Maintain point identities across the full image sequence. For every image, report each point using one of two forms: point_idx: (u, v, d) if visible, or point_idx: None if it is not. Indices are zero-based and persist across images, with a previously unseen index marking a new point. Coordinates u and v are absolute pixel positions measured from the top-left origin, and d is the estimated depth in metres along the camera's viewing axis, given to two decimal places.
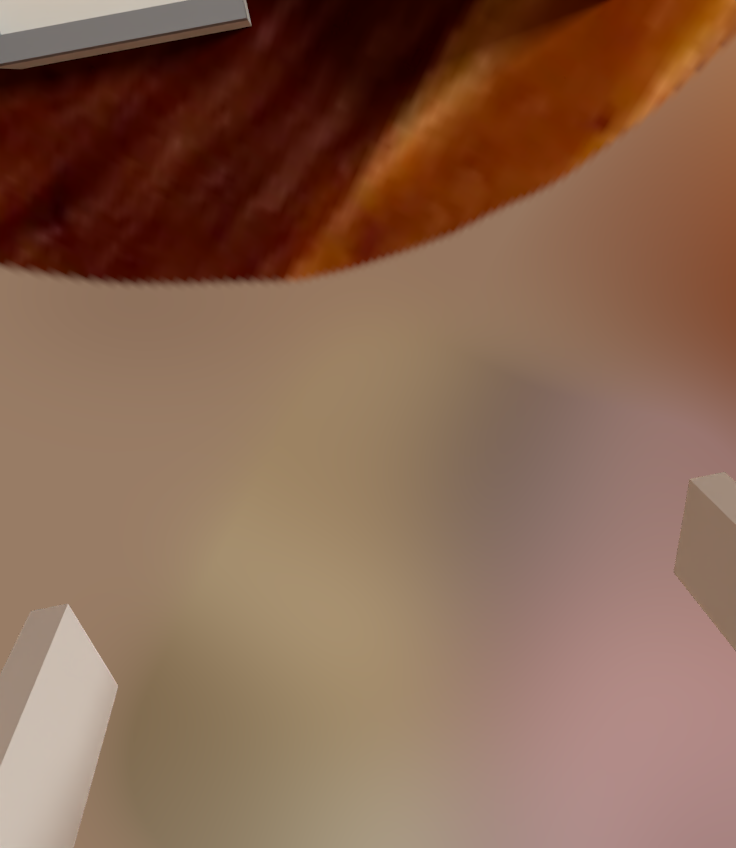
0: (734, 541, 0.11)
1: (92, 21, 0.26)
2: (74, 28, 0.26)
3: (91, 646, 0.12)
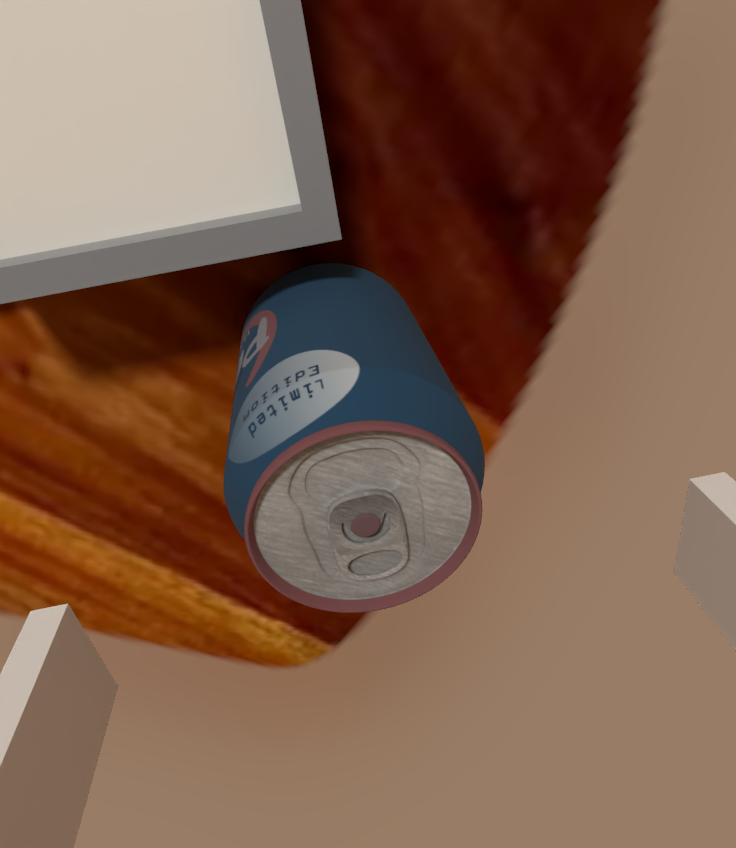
0: (734, 541, 0.11)
1: (270, 30, 0.15)
2: (283, 69, 0.15)
3: (91, 646, 0.12)
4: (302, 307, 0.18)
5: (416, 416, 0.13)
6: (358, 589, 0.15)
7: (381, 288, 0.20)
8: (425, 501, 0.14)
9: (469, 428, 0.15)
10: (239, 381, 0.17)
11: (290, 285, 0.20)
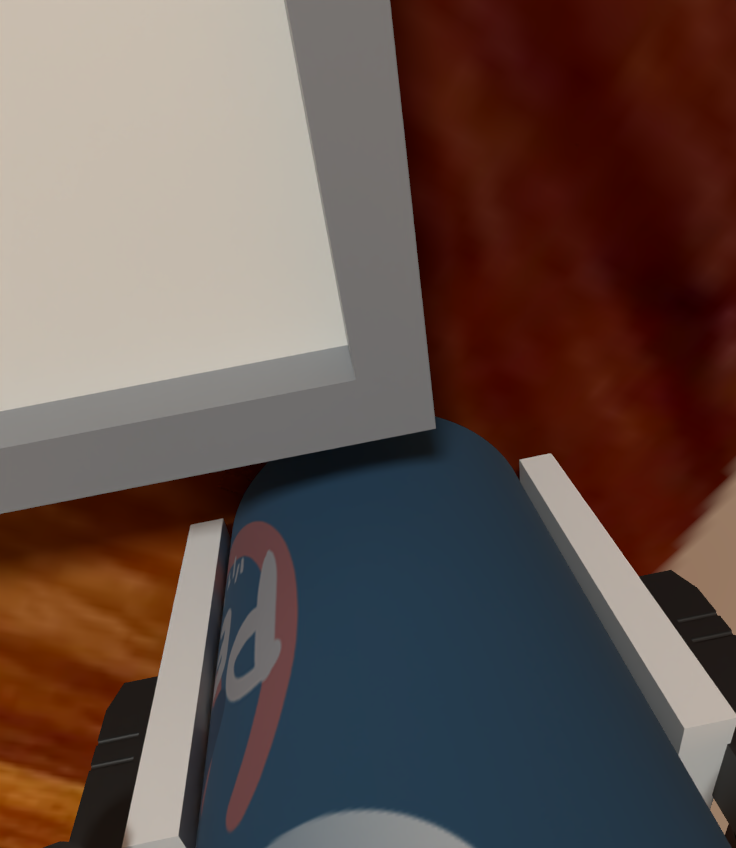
0: (543, 513, 0.12)
1: None
2: (322, 69, 0.06)
3: None
4: (351, 567, 0.08)
5: None
6: None
7: (488, 475, 0.11)
8: None
9: None
10: (217, 739, 0.08)
11: (321, 473, 0.11)
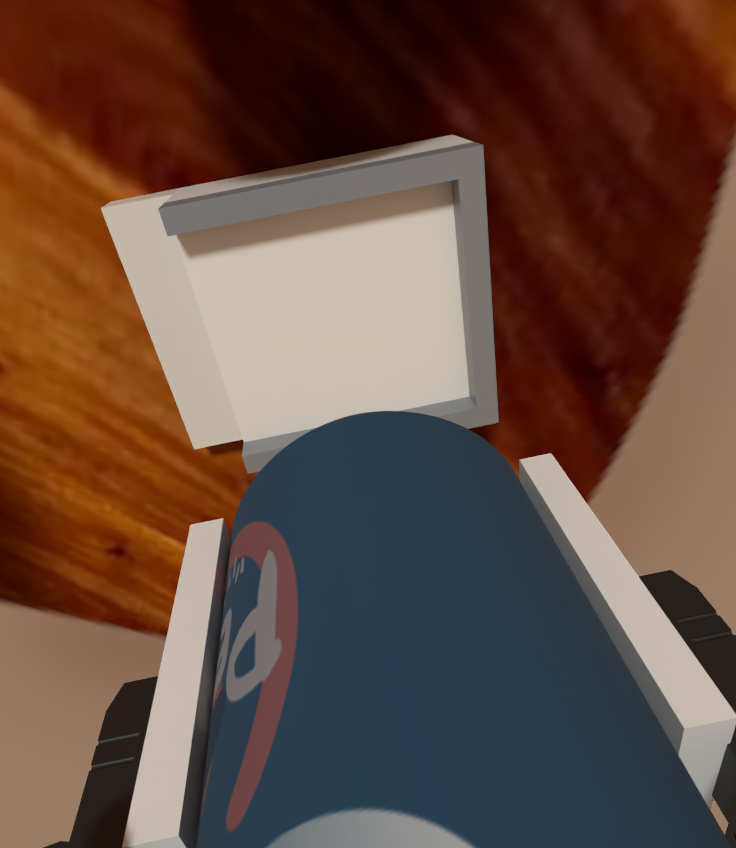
0: (543, 513, 0.12)
1: (472, 319, 0.25)
2: (476, 337, 0.25)
3: None
4: (351, 567, 0.08)
5: None
6: None
7: (488, 475, 0.11)
8: None
9: None
10: (217, 739, 0.08)
11: (321, 474, 0.11)
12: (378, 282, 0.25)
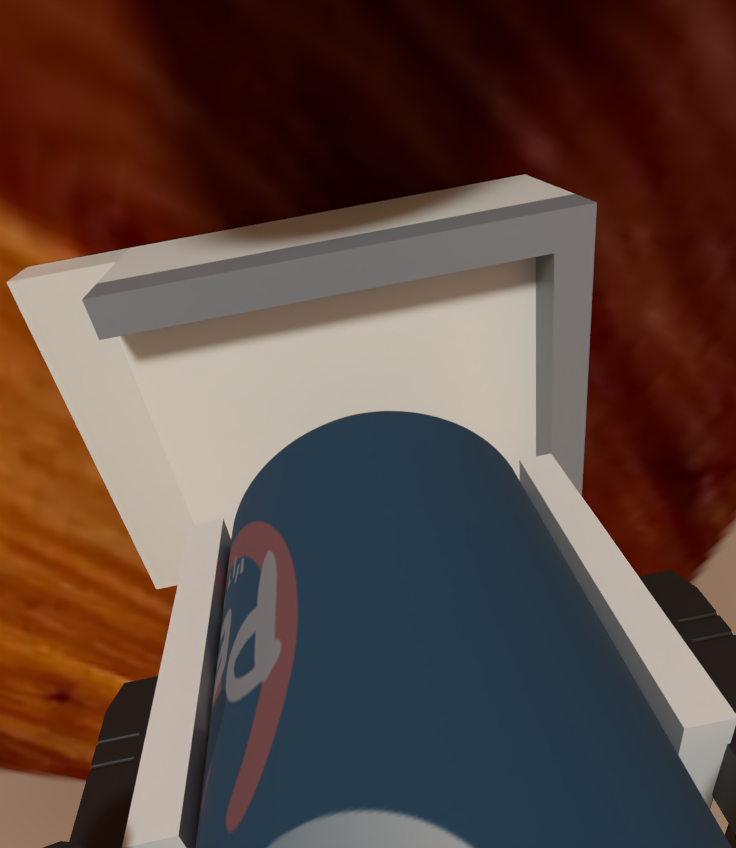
0: (543, 513, 0.12)
1: (555, 444, 0.17)
2: None
3: None
4: (351, 567, 0.08)
5: None
6: None
7: (488, 475, 0.11)
8: None
9: None
10: (217, 740, 0.08)
11: (321, 474, 0.11)
12: (420, 389, 0.17)
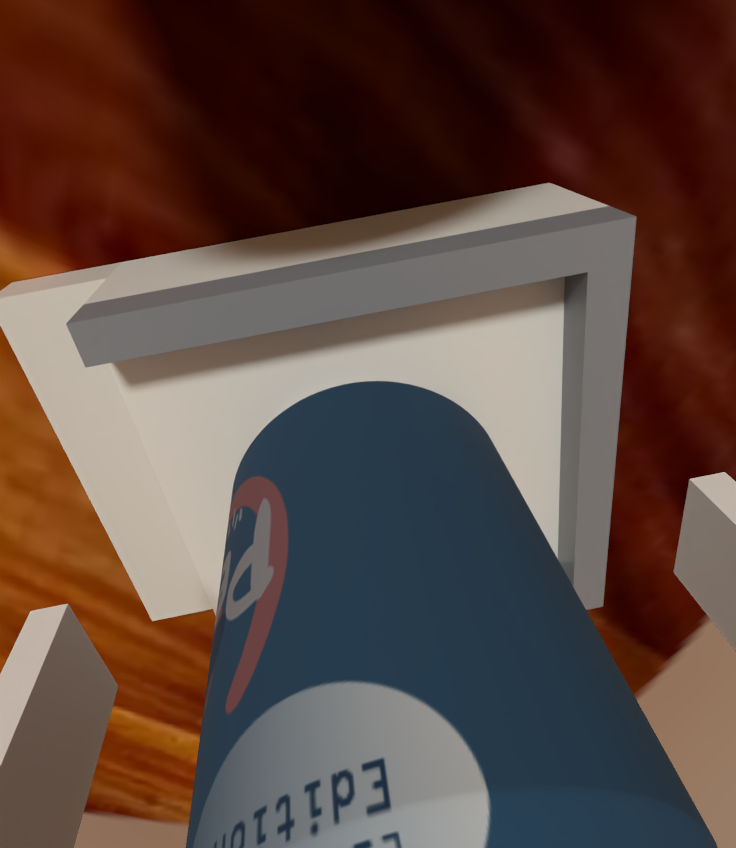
0: (734, 541, 0.11)
1: (582, 475, 0.16)
2: (586, 499, 0.16)
3: (91, 646, 0.12)
4: (335, 505, 0.10)
5: None
6: None
7: (462, 435, 0.12)
8: None
9: None
10: (218, 652, 0.09)
11: (311, 433, 0.12)
12: None
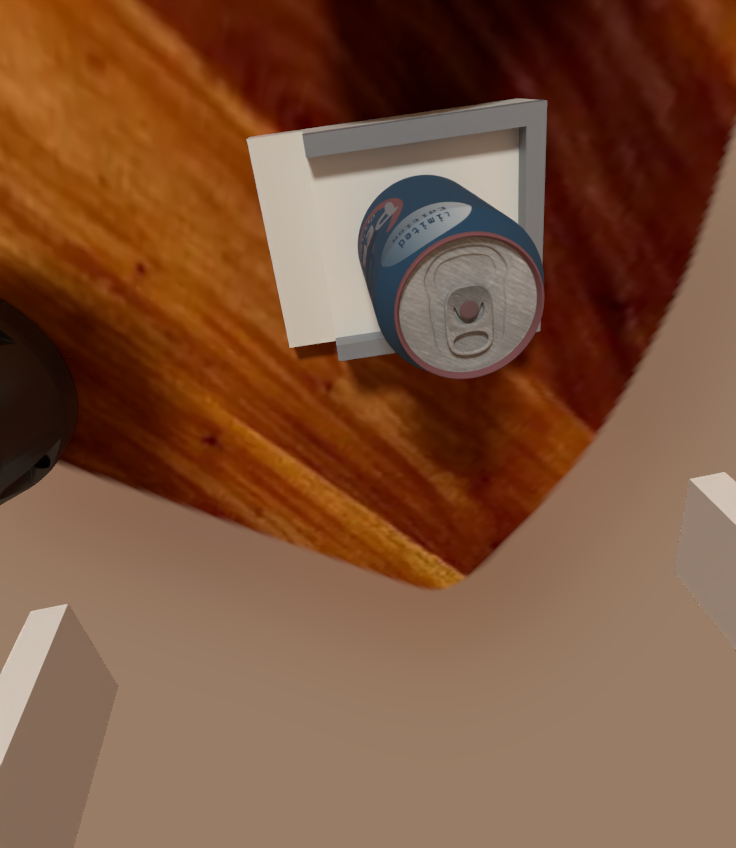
0: (733, 541, 0.11)
1: None
2: None
3: (91, 646, 0.12)
4: (419, 190, 0.26)
5: (507, 235, 0.21)
6: (456, 364, 0.23)
7: (468, 190, 0.28)
8: (507, 297, 0.22)
9: (537, 254, 0.23)
10: (376, 236, 0.25)
11: (404, 184, 0.28)
12: None
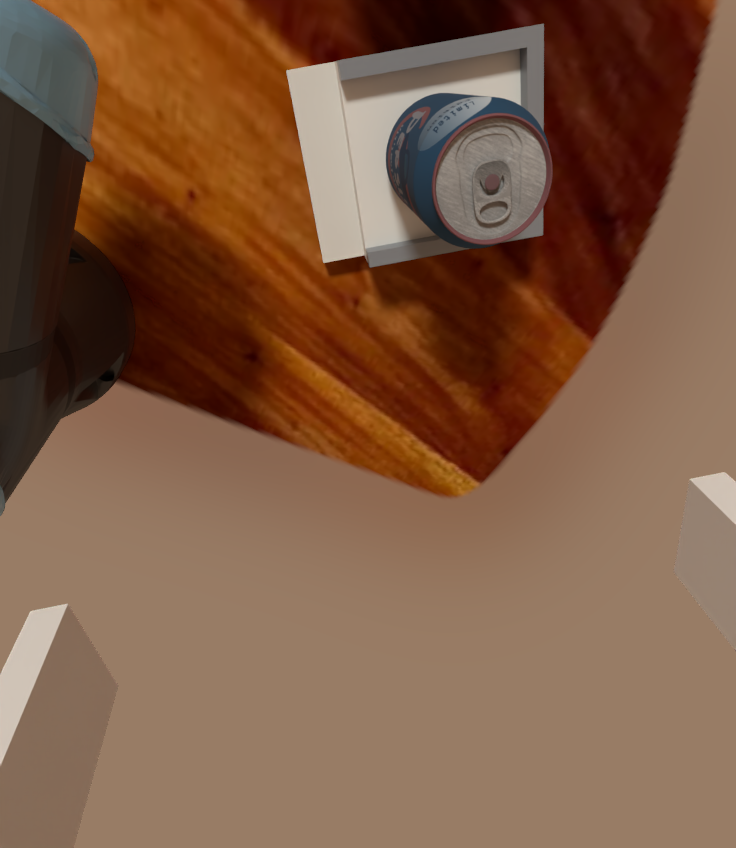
0: (733, 541, 0.11)
1: None
2: None
3: (91, 646, 0.12)
4: (442, 98, 0.31)
5: (521, 117, 0.26)
6: (482, 233, 0.29)
7: None
8: (522, 171, 0.27)
9: (544, 137, 0.28)
10: (408, 136, 0.30)
11: (426, 99, 0.33)
12: None
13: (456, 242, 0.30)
